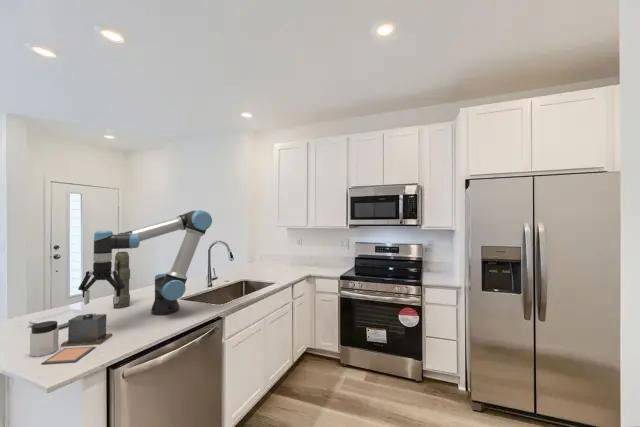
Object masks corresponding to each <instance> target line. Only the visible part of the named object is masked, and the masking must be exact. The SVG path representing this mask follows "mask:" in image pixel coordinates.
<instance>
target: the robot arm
mask: <svg viewBox="0 0 640 427" xmlns="http://www.w3.org/2000/svg"><path fill="white" fill-rule="evenodd" d="M212 223H213V218H212V216H211V214H210V213H209V212H207V210H206V211H205V210H201V209H200V210H190V211H188V212H185V213H183V214H180V215H177V216H176V217H175V218H171V219H168V220H164V221H161V222H157V223H153V224H150V225H146V226H143V227H139V228H136V229H131V230H130V231H125V232H120V233H117V234H114V233H113V231H112V230H97V231H95V232H94V233H93V234H94V235H93V260H92V261H93V264H92V265H93V266H92V268H93V270H88V271H86V272H85V276H84V277H83V279H82V281H81V283H80V285H79V286H78V288H77V289H78V291H81V292H82V298H83V299H84V301H83V302H84V304H83V305H84V306H85V305H88V304H90V288H91V287H92V286H93V285H94V284H95V283H96V281H107V282H108V283H109V284H110V285H111V286H112V287H113V289H114V288H115V289H116V290H115V291H113V292H114V294H113V297H114V304H116V303H118V301H119V296H120V293H121V289H123V288H125V286H124V284H123V282H122V280H121V278H120V276H119V273H118V270H116V271H114V270H112V267H113V264H112V260H113V250H121V249H123V250H124V249H125V250H126V249H138V248H139V247H140V242H143V241H146V240H149V239H154V238H156V237H160V236H163V235H166V234H169V233H174V232H177V231H179V230H180V231H185V232H186V233H185V235H184V237H183V239H182V242H181V244H180V247H179V250H178V252H177V254H176V256H175V260H174V262H173V264H172V267H171V269H170V270H169V271H168V272H166V273H159V274H156V275H155V276H154V301H153V304H152V306H151V309H150V313H151V315H154V316H164V315H170V314H174V313H176V312H179V311H180V305H179V301H178V299H180V298H182V297H183V296H184V294H185V292H186V287H187V286H186V283H187V280H188V277H187V273H188V270H189V268H190V265H191V262H192V260H193V258H194V256H195V255H194V254H195V253H196V251H197V248H198V245H199V243H200V240H201V239H202V237H203V236H205V234H206V232H207V230H208V229H209V228H210V227H212V226H211V225H212ZM91 276H93V277H92V278H91ZM112 276H113V277H112ZM90 278H91V280H90ZM114 278H115V280H116V282H117V283H116V282H115V281H114ZM89 280H90V281H89ZM88 281H89V282H88ZM114 304H113V305H114Z"/></svg>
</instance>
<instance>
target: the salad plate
mask: <svg viewBox="0 0 640 427" xmlns="http://www.w3.org/2000/svg"><path fill="white" fill-rule="evenodd" d="M86 314H93V315H97V312H94V311H89V310H88V311H87V310H81V309H75V308H74V309H73V308H71V309H67V310H63V311H59V312H55V313H52V314H49V315H46V316H42V317H39V318H35V319H33V320H29V321H28V323H29V325H31V326H33V325H35V324H38V323H41V322H46V321H57V327H59V329H62V328H64V327H68V320H70V319H72V318H74V317H76V316H78V315H86Z"/></svg>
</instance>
